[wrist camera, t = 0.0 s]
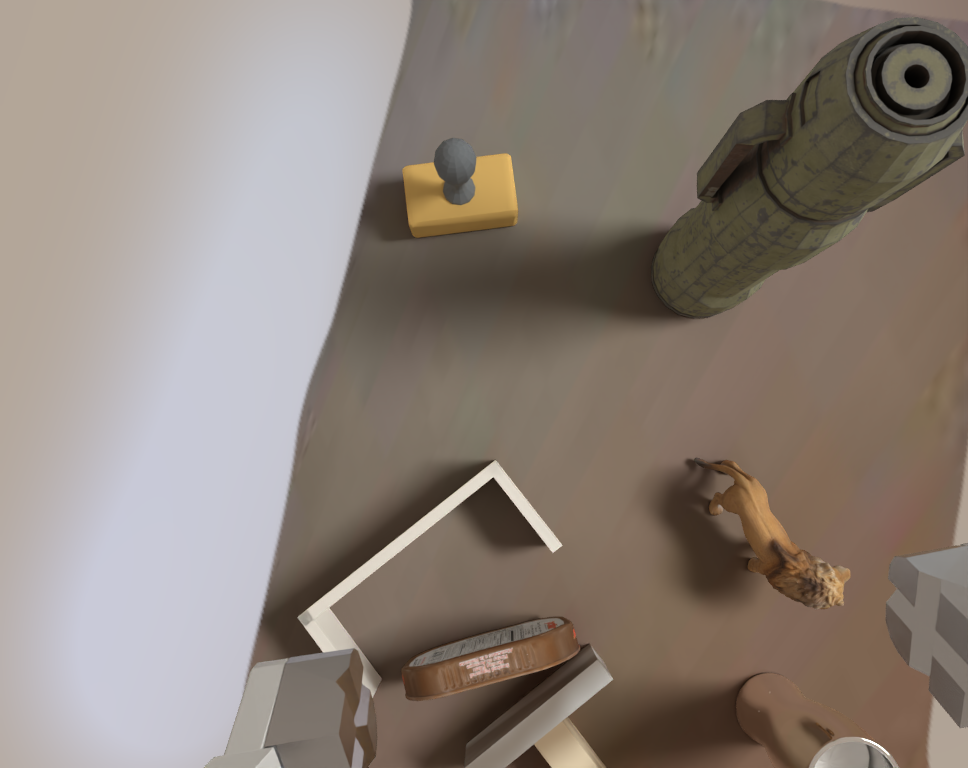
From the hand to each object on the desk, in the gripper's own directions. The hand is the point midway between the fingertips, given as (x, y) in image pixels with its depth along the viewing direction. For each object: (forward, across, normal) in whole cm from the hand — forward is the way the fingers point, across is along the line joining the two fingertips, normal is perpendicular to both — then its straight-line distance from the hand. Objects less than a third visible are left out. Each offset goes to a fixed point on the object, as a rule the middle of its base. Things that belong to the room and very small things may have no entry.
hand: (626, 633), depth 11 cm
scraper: (+36, +2, -48) cm, 60 cm away
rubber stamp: (+61, -1, -3) cm, 61 cm away
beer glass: (+37, +18, -46) cm, 62 cm away
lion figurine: (+44, +20, -32) cm, 59 cm away
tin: (+41, -5, -38) cm, 56 cm away
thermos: (+56, +20, -12) cm, 60 cm away
